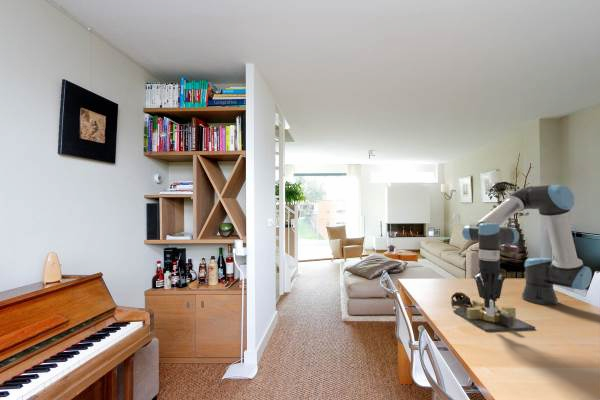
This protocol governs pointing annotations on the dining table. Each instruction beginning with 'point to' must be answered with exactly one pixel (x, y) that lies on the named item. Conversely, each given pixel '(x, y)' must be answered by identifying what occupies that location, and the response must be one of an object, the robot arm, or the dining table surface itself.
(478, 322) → the flange plate
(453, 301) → the pottery mug
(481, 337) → the dining table surface
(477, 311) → the ring nut
